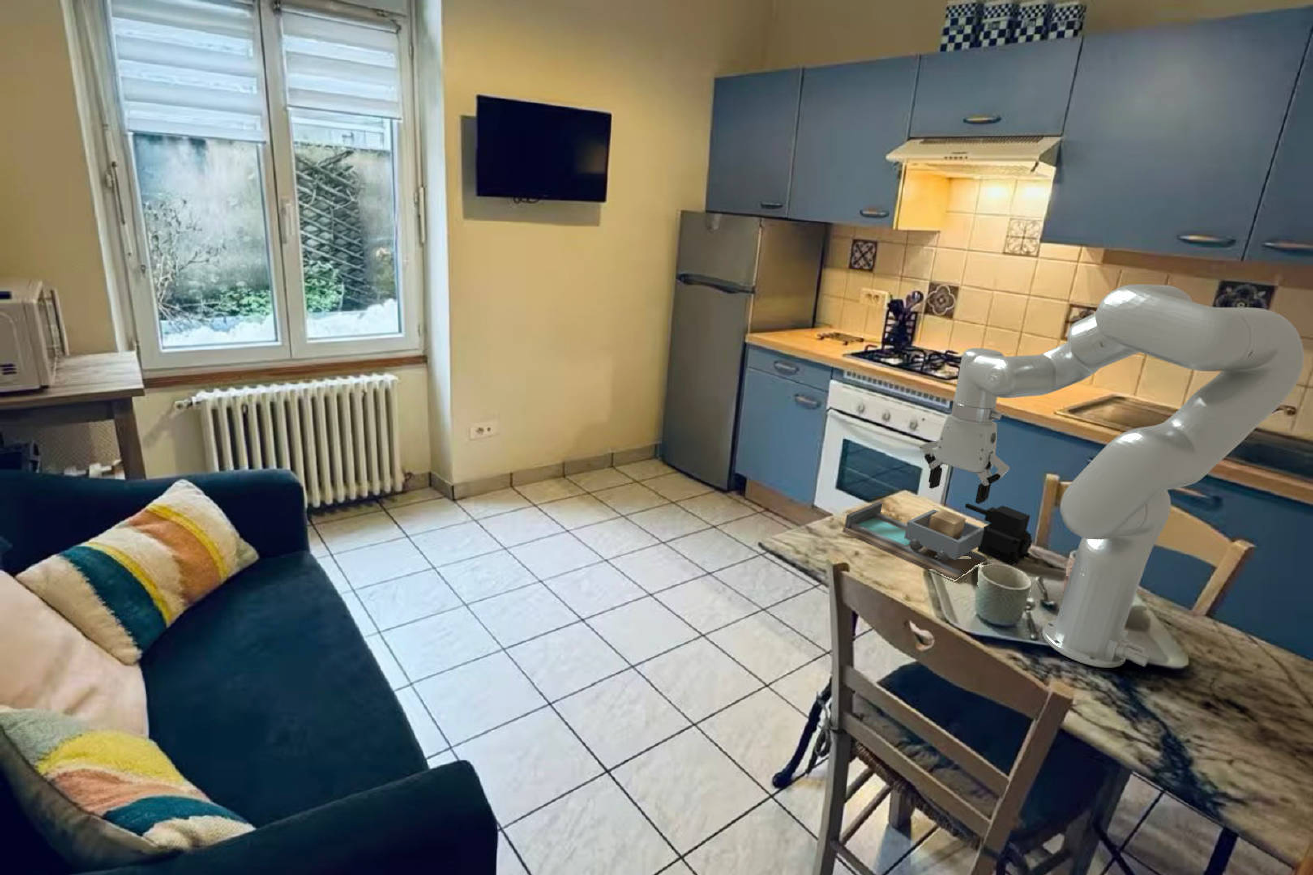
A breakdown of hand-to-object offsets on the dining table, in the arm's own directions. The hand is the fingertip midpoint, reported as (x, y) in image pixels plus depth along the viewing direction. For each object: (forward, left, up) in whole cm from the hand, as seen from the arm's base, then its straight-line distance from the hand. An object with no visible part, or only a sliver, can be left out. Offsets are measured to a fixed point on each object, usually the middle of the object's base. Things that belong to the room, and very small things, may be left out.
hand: (956, 494), depth 144 cm
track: (+7, 0, -15) cm, 16 cm away
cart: (+1, 0, -13) cm, 13 cm away
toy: (-4, -14, -15) cm, 21 cm away
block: (+1, 0, -10) cm, 10 cm away
